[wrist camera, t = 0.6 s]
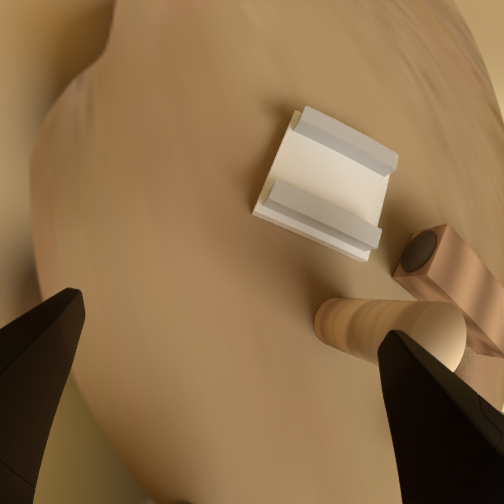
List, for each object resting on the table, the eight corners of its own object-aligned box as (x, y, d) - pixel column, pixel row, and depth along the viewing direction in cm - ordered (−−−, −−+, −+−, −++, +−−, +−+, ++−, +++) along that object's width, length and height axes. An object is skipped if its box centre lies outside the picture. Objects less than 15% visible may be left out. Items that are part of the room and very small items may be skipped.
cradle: (360, 262, 25) (380, 258, 22) (251, 214, 24) (258, 203, 21) (386, 164, 27) (404, 152, 24) (292, 116, 26) (302, 97, 23)
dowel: (366, 322, 25) (475, 339, 12) (333, 355, 24) (431, 400, 12) (339, 287, 25) (445, 284, 12) (304, 321, 24) (394, 347, 12)
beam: (492, 315, 27) (523, 316, 22) (476, 353, 26) (508, 359, 21) (411, 231, 26) (445, 221, 21) (389, 275, 25) (424, 272, 20)
